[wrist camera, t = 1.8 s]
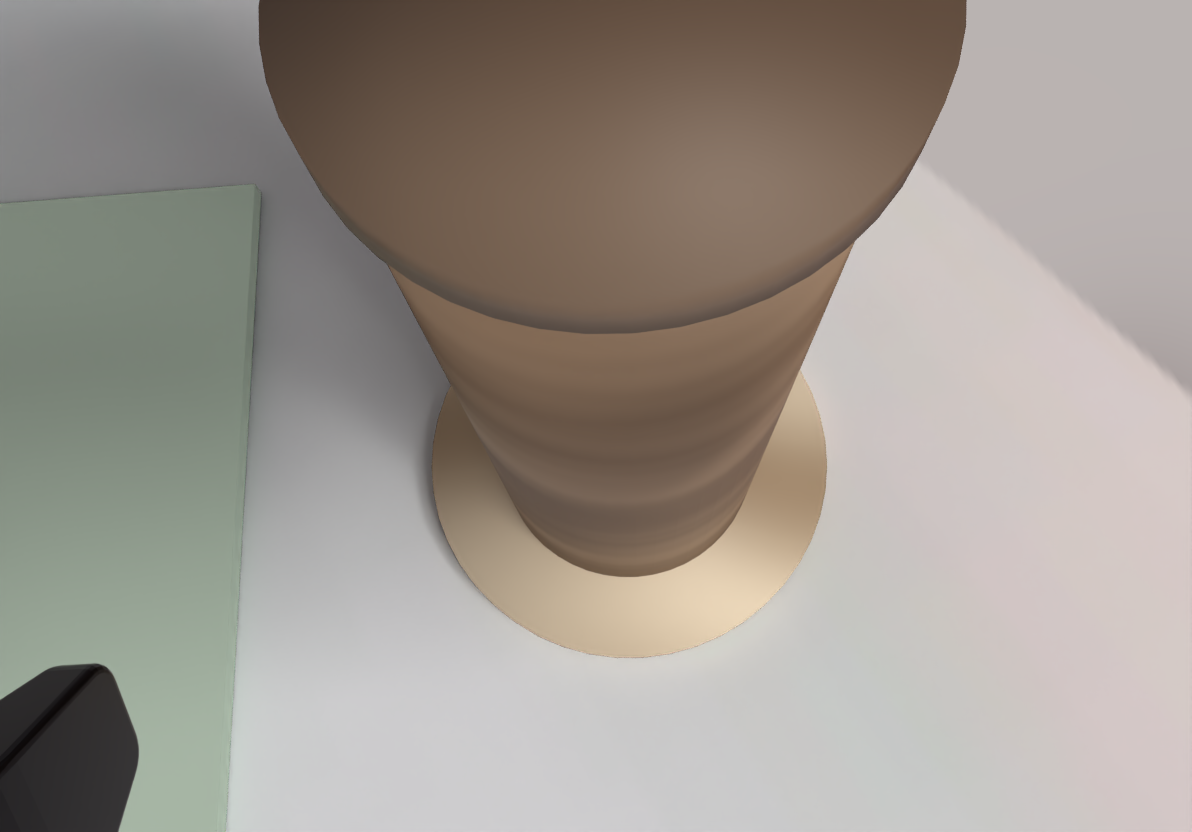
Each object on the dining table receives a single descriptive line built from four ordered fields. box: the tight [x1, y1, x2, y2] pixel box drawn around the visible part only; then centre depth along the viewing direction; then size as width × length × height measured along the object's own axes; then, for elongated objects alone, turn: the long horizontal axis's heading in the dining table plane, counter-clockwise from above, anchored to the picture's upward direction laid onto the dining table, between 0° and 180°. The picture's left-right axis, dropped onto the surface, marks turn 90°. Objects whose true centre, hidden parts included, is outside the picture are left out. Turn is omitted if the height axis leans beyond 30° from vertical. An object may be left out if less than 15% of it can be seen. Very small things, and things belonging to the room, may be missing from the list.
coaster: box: [432, 370, 827, 658], centre depth 20 cm, size 8×8×1 cm
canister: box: [259, 0, 966, 577], centre depth 14 cm, size 5×5×13 cm
